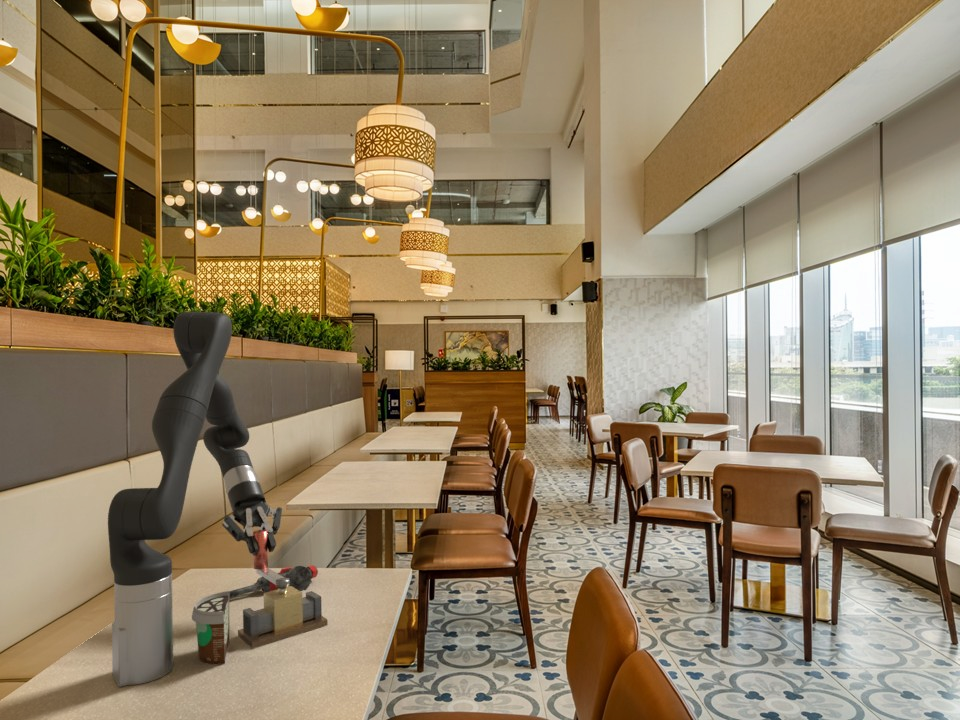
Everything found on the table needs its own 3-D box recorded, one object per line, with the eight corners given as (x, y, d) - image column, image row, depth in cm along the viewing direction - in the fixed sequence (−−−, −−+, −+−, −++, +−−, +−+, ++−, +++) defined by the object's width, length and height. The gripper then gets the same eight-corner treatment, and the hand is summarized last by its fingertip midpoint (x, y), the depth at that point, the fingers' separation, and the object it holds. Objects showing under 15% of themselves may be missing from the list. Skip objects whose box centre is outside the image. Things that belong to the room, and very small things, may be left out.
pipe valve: (252, 648, 119) (251, 602, 119) (237, 635, 125) (237, 591, 125) (327, 625, 129) (326, 582, 130) (310, 614, 135) (310, 573, 136)
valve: (306, 579, 166) (326, 585, 154) (204, 606, 151) (217, 616, 139) (303, 555, 166) (323, 560, 154) (201, 580, 151) (214, 587, 139)
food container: (197, 644, 122) (196, 593, 122) (230, 639, 123) (229, 589, 124) (187, 672, 110) (186, 617, 110) (224, 667, 112) (223, 612, 112)
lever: (292, 585, 127) (291, 541, 128) (278, 589, 125) (277, 544, 126) (264, 569, 139) (264, 529, 139) (251, 572, 137) (251, 531, 137)
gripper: (216, 483, 138) (236, 548, 128) (276, 475, 147) (299, 535, 138) (209, 503, 142) (227, 568, 132) (268, 494, 151) (289, 554, 142)
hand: (264, 551), depth 135 cm, fingers closed on lever, 3 cm apart
